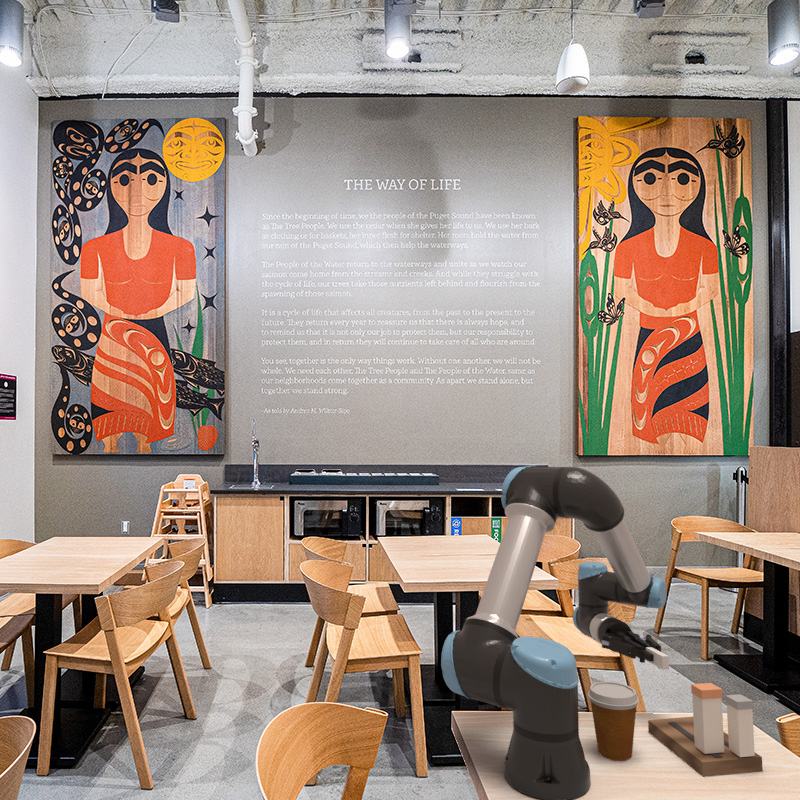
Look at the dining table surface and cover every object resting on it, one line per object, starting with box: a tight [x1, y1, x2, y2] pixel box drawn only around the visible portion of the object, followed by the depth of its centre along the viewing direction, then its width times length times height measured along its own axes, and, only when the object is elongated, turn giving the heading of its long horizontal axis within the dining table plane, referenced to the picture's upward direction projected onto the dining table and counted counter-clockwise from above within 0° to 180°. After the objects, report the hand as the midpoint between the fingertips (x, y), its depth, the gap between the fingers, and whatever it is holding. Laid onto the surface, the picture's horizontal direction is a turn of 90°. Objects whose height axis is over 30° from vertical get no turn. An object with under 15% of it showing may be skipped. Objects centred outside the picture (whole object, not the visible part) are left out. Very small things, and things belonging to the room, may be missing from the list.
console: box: [647, 716, 764, 777], centre depth 121 cm, size 18×12×4 cm, turn 9°
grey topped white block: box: [725, 694, 756, 757], centre depth 115 cm, size 3×3×10 cm
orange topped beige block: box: [690, 682, 724, 754], centre depth 116 cm, size 3×4×11 cm
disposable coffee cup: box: [587, 681, 639, 762], centre depth 121 cm, size 10×10×12 cm
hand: (665, 662), depth 130 cm, fingers closed
